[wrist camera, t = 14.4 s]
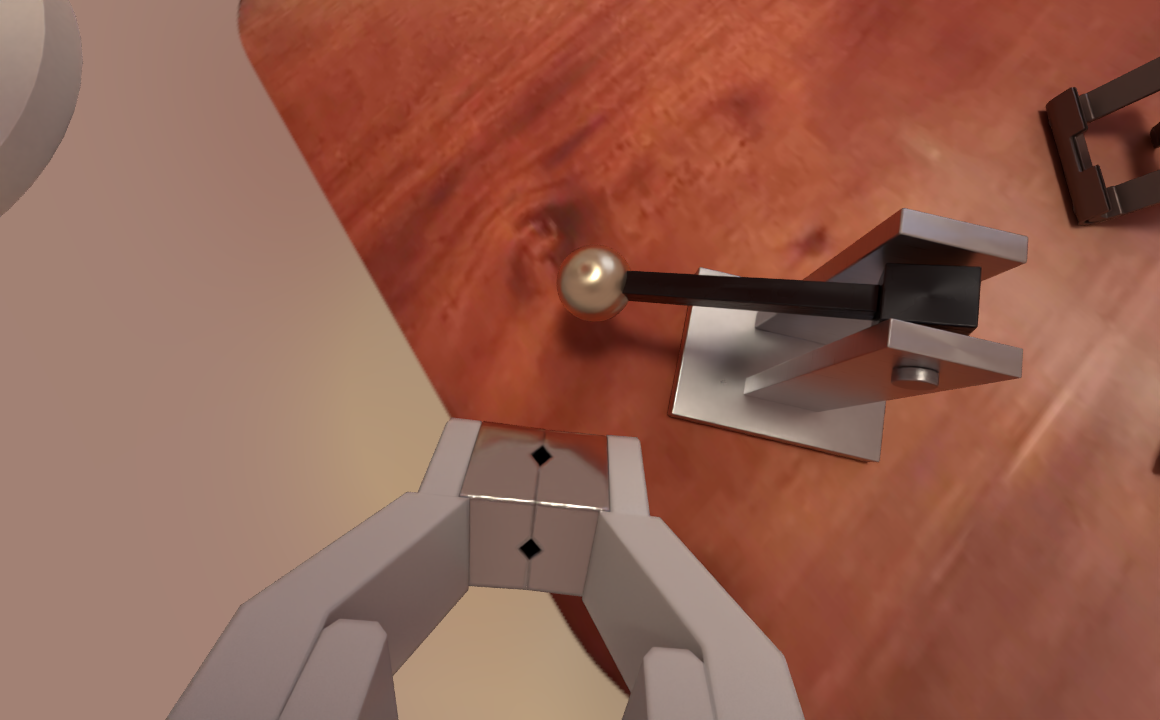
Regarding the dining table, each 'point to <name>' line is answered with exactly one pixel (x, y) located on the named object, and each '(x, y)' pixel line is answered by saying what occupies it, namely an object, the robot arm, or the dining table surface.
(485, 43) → the dining table surface
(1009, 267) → the metal stand
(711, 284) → the lever
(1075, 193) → the tablet stand
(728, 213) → the dining table surface
